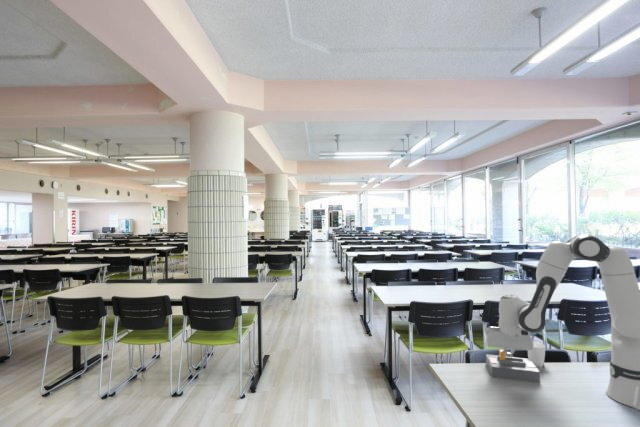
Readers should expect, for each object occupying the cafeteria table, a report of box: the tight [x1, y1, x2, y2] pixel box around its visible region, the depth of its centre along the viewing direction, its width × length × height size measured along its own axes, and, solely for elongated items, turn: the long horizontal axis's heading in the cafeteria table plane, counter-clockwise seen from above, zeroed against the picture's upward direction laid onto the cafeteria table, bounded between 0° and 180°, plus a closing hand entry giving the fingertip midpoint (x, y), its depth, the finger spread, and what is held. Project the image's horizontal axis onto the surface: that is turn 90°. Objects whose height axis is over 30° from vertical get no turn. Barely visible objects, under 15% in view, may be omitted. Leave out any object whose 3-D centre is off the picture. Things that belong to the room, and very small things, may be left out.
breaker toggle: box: [498, 349, 505, 360], centre depth 163 cm, size 2×3×5 cm, turn 164°
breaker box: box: [485, 353, 541, 384], centre depth 162 cm, size 20×14×7 cm
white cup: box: [527, 341, 546, 367], centre depth 172 cm, size 8×8×10 cm
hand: (508, 356), depth 163 cm, fingers closed
